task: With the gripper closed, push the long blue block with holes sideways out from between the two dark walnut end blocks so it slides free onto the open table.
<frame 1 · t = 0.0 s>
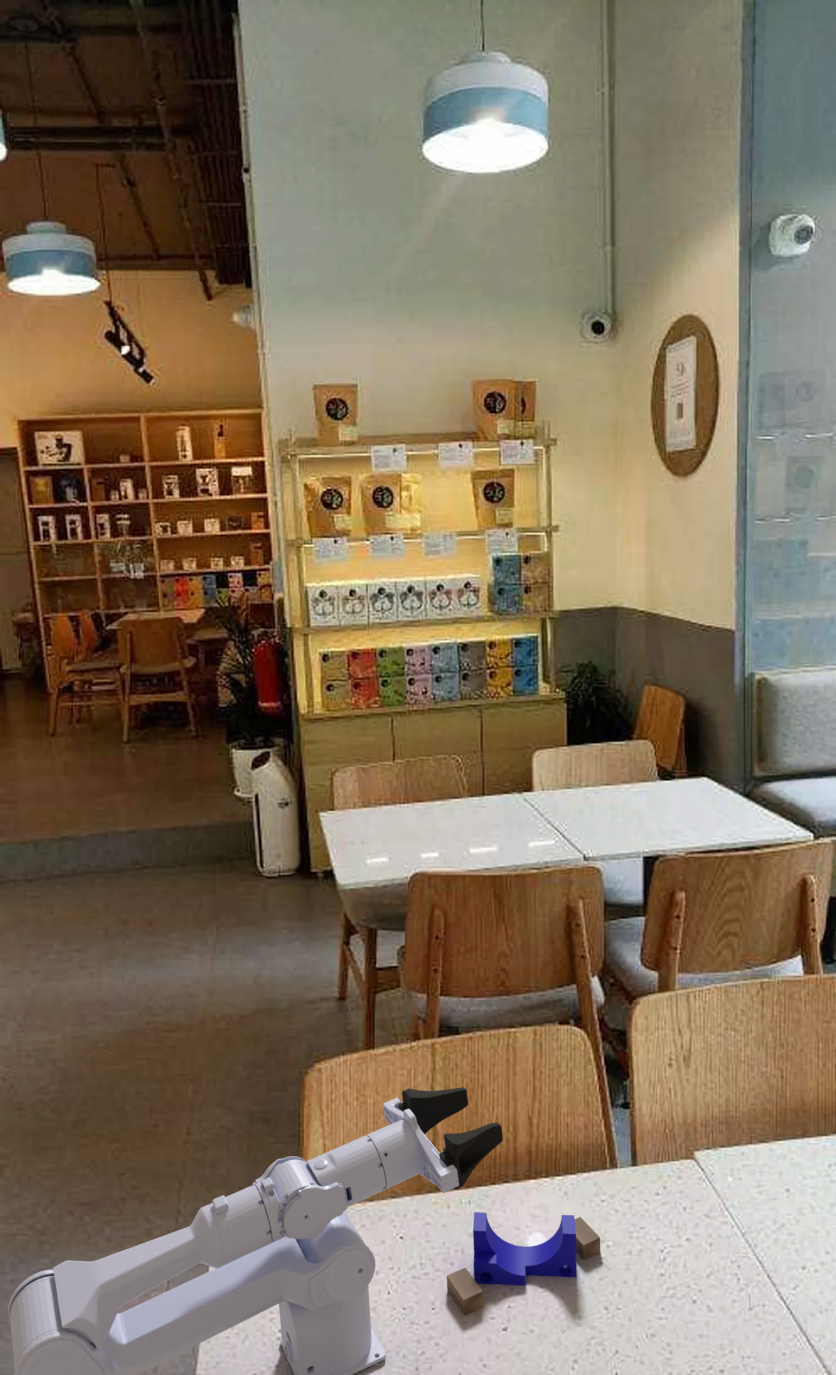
hand: (482, 1113, 108), 22 cm above the table, tool horizontal, fingers open, 7 cm apart
end blocks: (525, 1270, 113), on the table
blue block with holes: (525, 1273, 113), on the table
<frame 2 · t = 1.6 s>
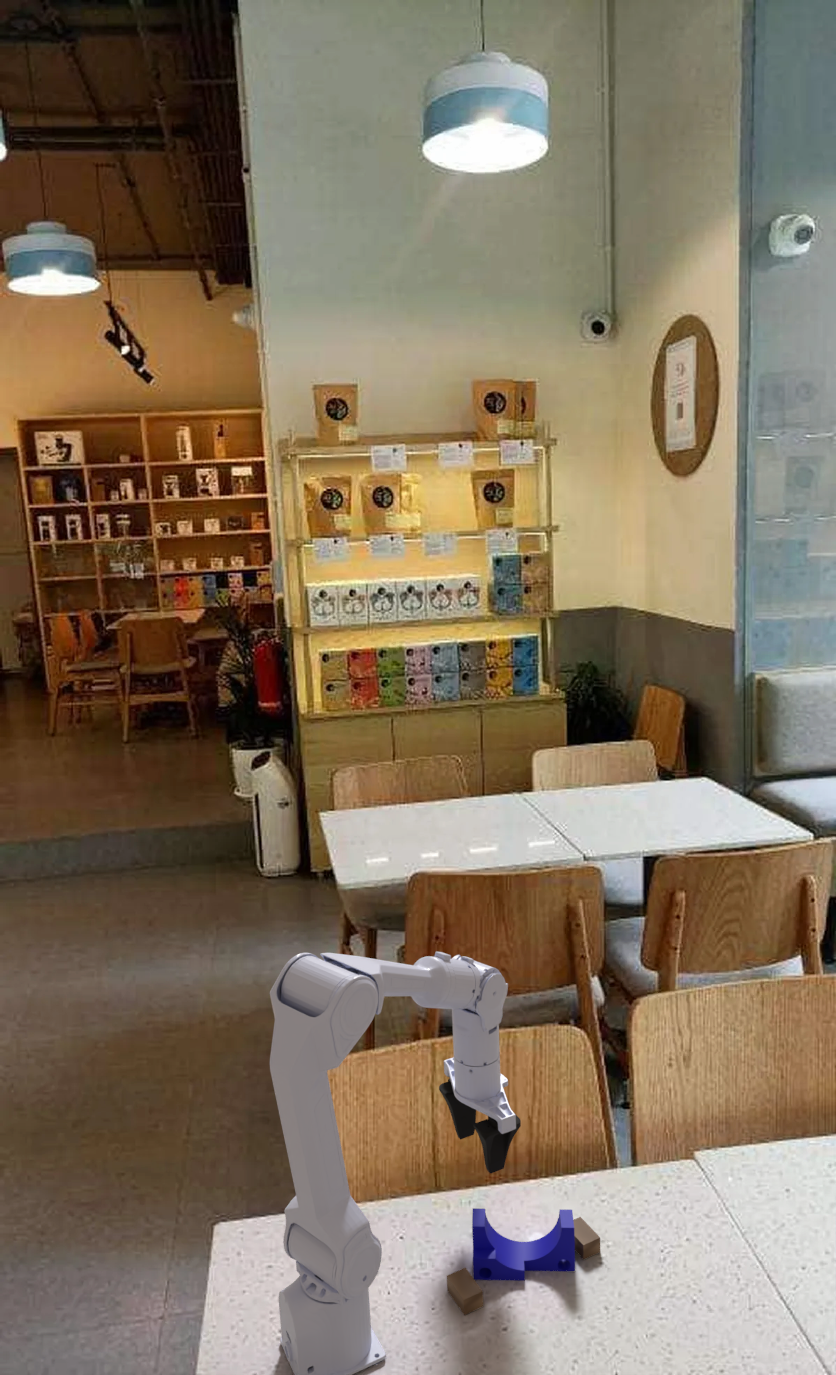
hand: (480, 1152, 120), 9 cm above the table, tool pointing down, fingers open, 7 cm apart
nothing on the table moved.
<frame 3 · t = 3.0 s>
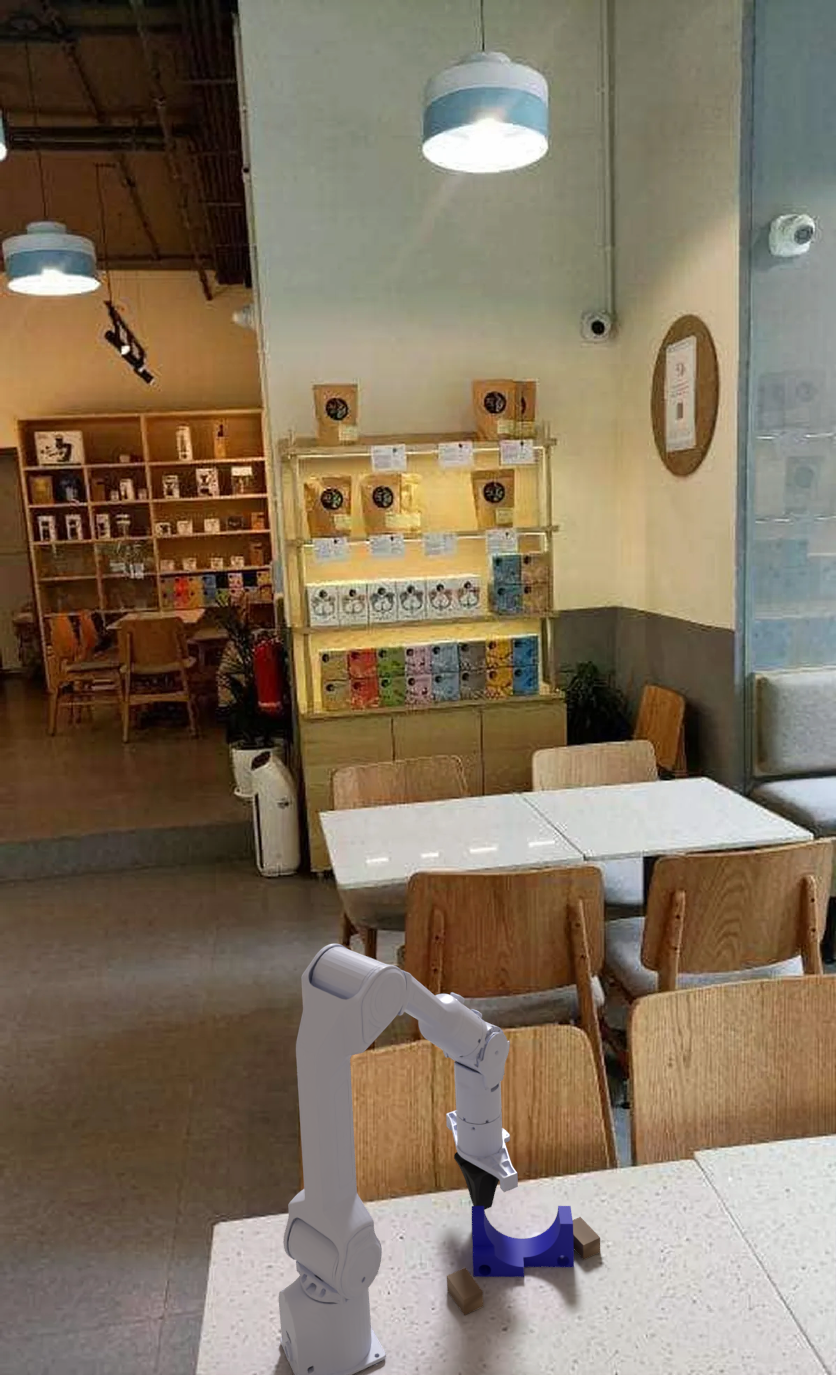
hand: (482, 1206, 122), 2 cm above the table, tool pointing down, fingers closed
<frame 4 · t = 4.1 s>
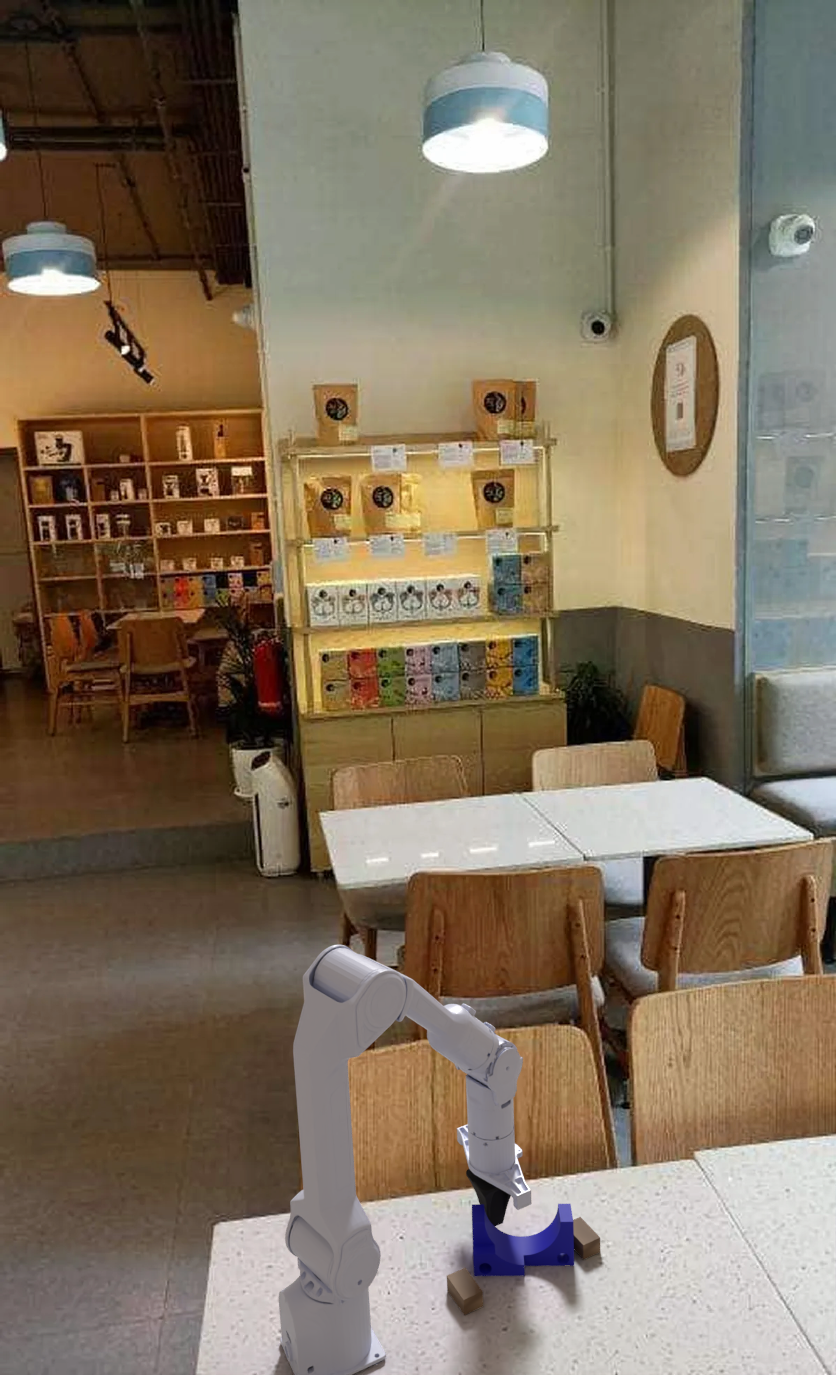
hand: (494, 1223, 119), 1 cm above the table, tool pointing down, fingers closed
blue block with holes: (523, 1262, 115), on the table, touching gripper
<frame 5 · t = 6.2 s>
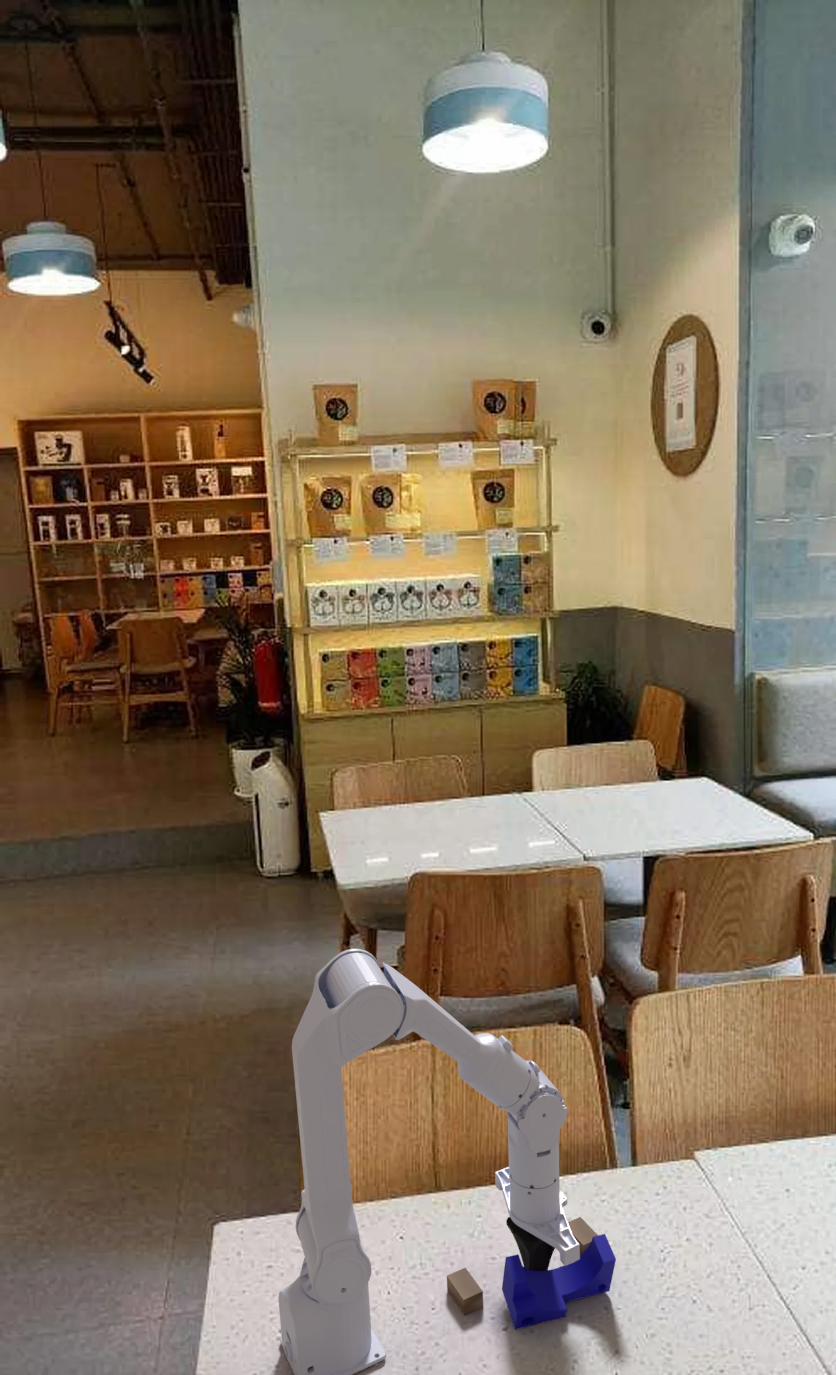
hand: (536, 1276, 111), 1 cm above the table, tool pointing down, fingers closed
blue block with holes: (557, 1297, 108), on the table, touching gripper
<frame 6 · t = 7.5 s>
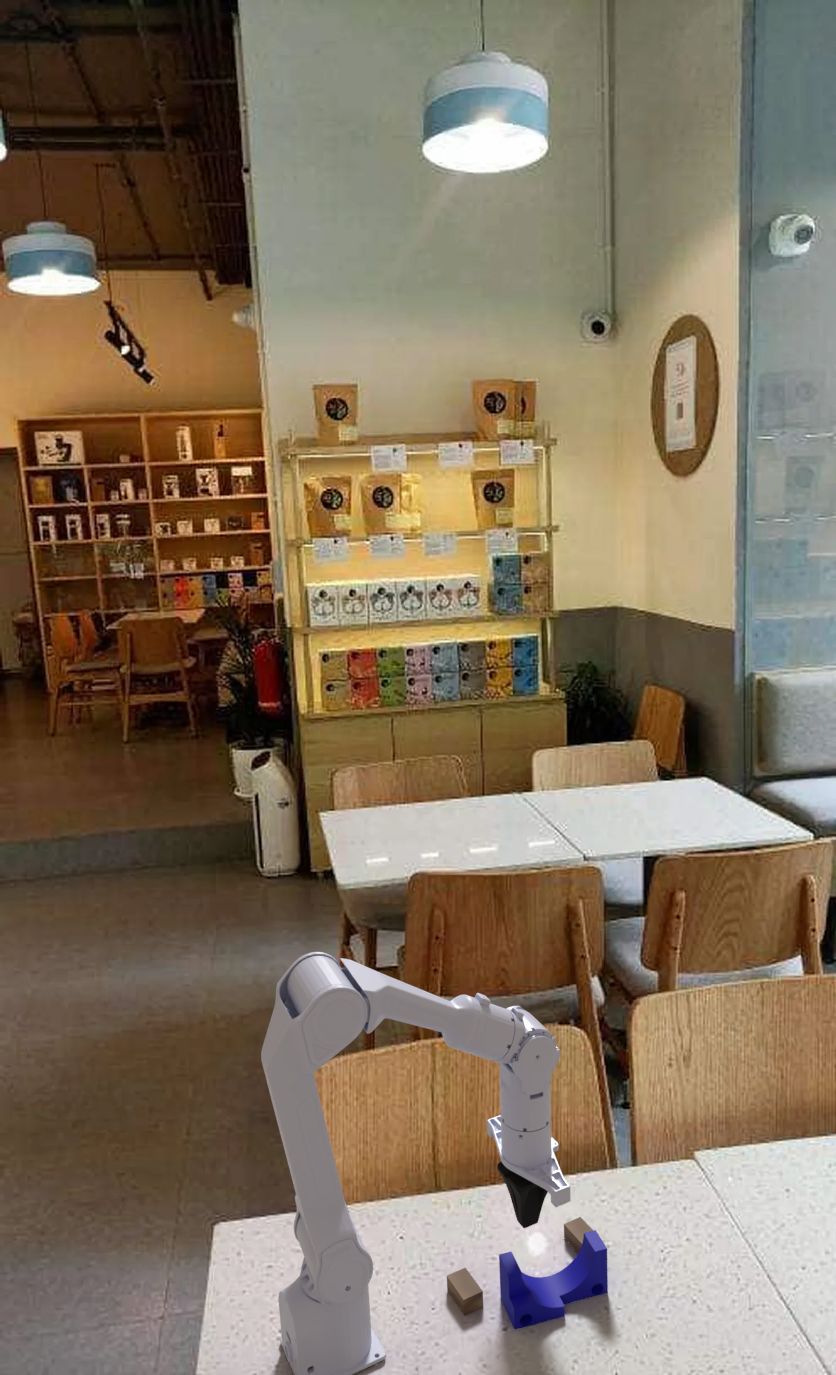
hand: (527, 1221, 111), 7 cm above the table, tool pointing down, fingers closed
blue block with holes: (556, 1303, 109), on the table
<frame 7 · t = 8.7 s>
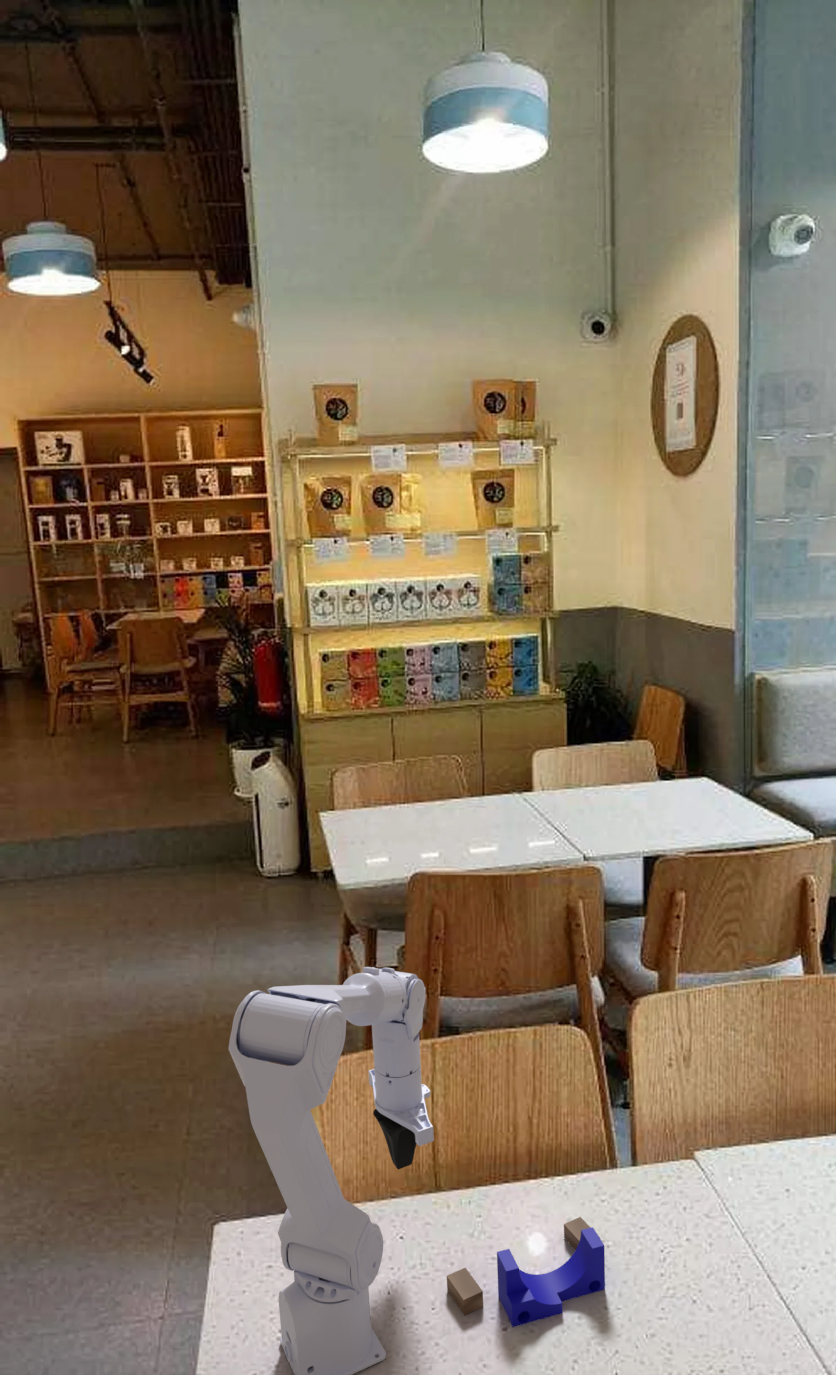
hand: (402, 1163, 119), 9 cm above the table, tool pointing down, fingers closed
nothing on the table moved.
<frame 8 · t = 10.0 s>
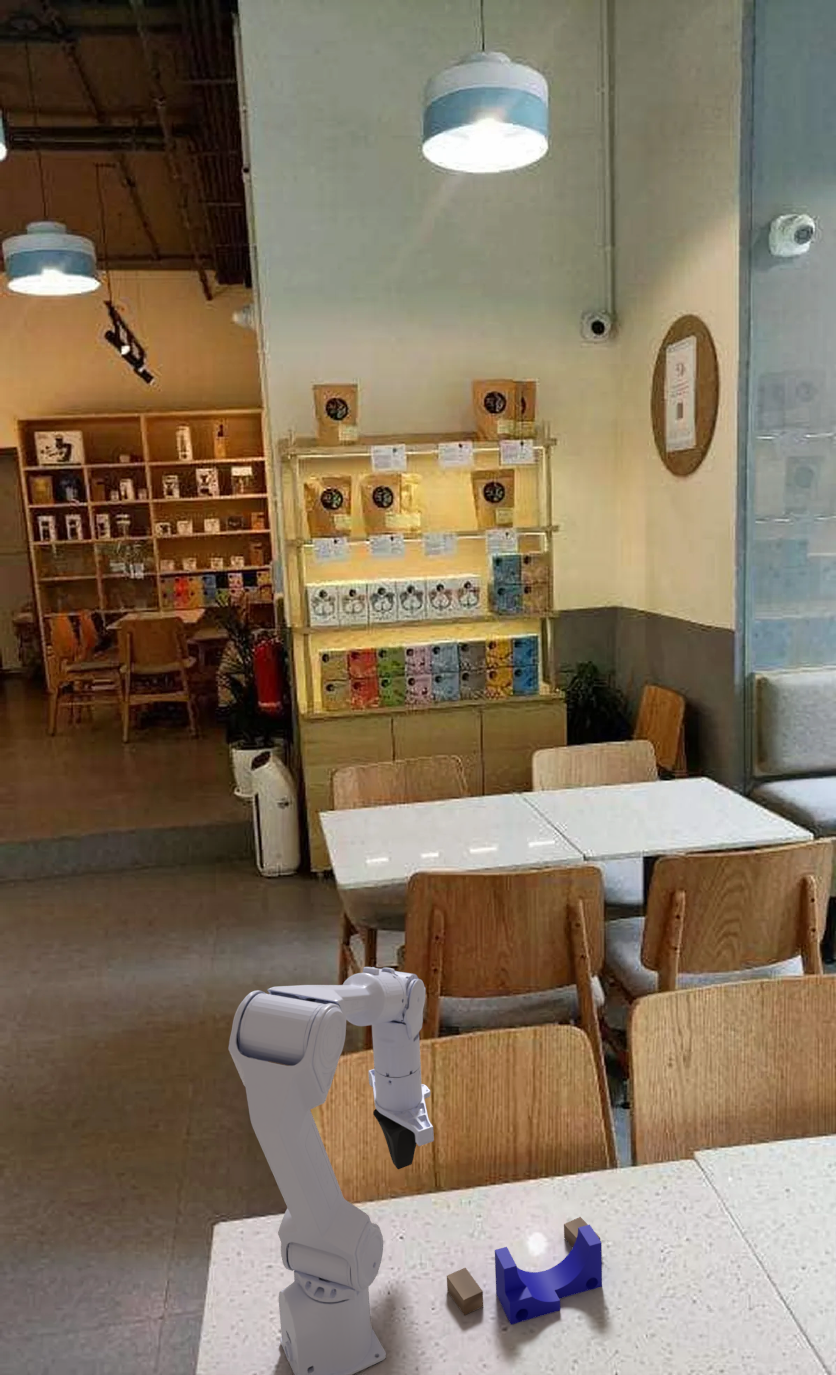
hand: (402, 1163, 119), 9 cm above the table, tool pointing down, fingers closed
nothing on the table moved.
at the end: blue block with holes inside the target area (2.6 cm from its centre), on the table; blue block with holes tilted 0°; blue block with holes moved 4.5 cm from its start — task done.
